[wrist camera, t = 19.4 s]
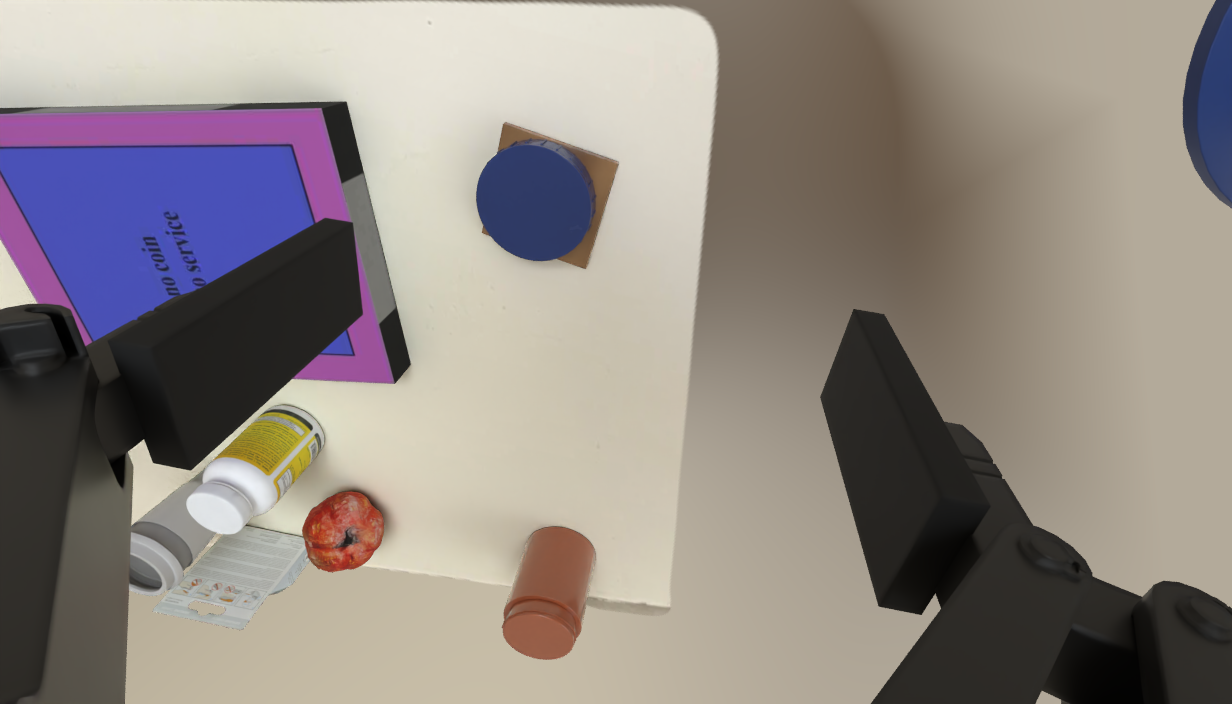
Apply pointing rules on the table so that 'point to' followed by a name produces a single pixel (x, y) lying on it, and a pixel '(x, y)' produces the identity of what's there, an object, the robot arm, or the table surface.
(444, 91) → the table surface
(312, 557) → the pomegranate
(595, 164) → the cork mat
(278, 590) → the ink box
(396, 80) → the table surface
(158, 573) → the cup
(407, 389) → the table surface
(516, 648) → the jar
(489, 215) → the lid
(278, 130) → the book
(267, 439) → the pill bottle
